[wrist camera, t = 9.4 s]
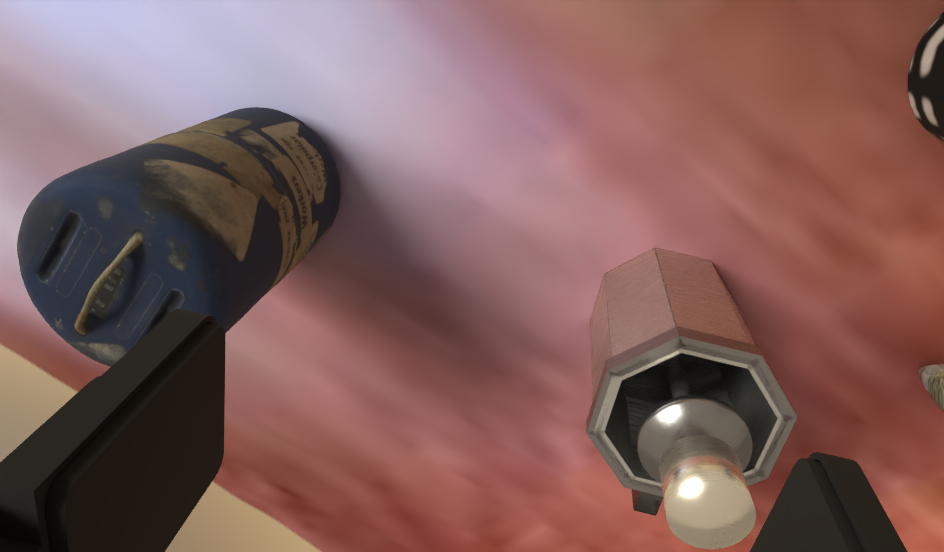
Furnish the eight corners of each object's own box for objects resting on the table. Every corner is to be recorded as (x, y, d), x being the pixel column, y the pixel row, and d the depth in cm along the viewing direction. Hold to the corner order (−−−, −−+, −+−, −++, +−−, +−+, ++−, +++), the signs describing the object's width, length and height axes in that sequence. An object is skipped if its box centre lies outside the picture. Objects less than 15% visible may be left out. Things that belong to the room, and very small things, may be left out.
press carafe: (611, 232, 42) (622, 322, 31) (757, 266, 41) (820, 369, 30) (566, 384, 46) (562, 507, 36) (696, 415, 46) (732, 551, 35)
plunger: (633, 279, 40) (663, 444, 26) (727, 301, 40) (809, 480, 26) (608, 358, 43) (621, 549, 28) (696, 379, 42) (755, 583, 28)
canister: (377, 197, 43) (254, 331, 27) (274, 272, 46) (107, 432, 30) (278, 70, 41) (76, 131, 24) (176, 158, 44) (-61, 264, 28)
